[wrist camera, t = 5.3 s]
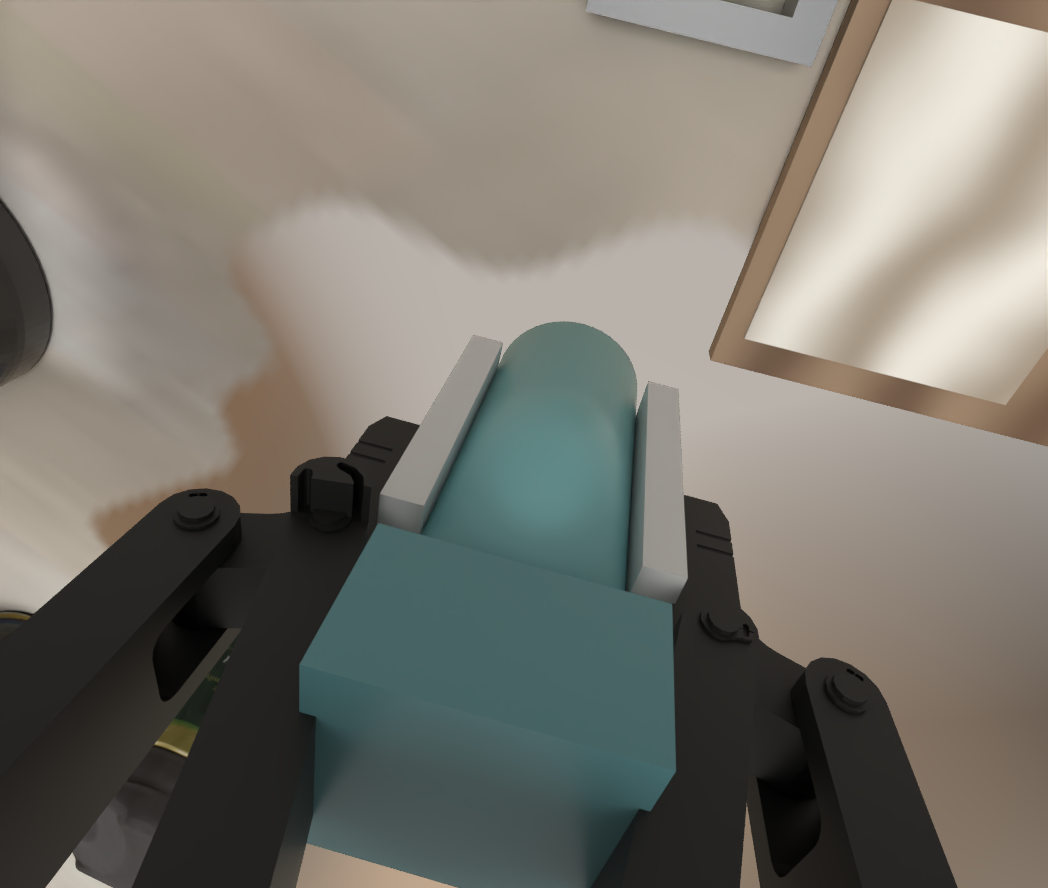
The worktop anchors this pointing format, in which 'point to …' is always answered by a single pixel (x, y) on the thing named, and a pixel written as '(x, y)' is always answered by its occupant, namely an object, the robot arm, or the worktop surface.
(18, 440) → the worktop surface
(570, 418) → the teal square-headed peg
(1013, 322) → the clipboard
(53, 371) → the worktop surface
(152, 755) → the coffee jar
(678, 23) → the button housing
